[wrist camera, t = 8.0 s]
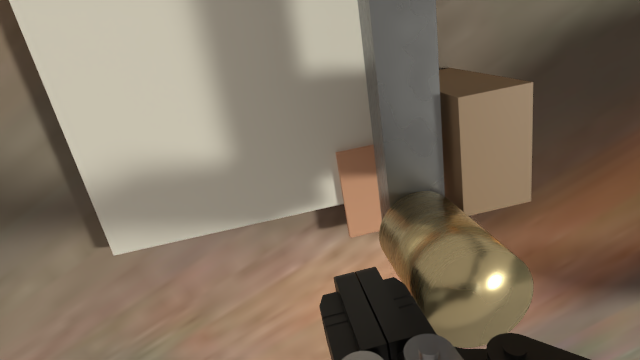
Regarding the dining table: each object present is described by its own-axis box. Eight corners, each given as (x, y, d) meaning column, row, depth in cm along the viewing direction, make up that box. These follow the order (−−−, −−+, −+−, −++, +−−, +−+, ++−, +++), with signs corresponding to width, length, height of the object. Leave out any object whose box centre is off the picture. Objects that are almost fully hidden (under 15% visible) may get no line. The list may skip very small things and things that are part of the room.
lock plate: (435, -187, 18) (540, -311, 11) (457, 201, 25) (530, 261, 18) (-28, -120, 16) (-214, -223, 10) (131, 276, 23) (84, 372, 17)
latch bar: (313, -178, 13) (365, -355, 7) (429, -192, 14) (570, -371, 8) (369, 257, 19) (423, 360, 13) (448, 239, 20) (537, 332, 14)
